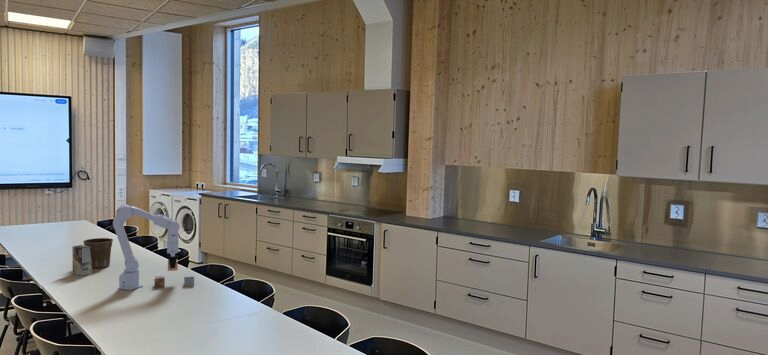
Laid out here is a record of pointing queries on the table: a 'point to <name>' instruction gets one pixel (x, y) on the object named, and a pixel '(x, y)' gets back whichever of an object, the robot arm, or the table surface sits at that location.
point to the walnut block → (159, 281)
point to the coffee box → (82, 260)
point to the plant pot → (100, 251)
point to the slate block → (189, 280)
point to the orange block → (173, 268)
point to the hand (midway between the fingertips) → (172, 266)
